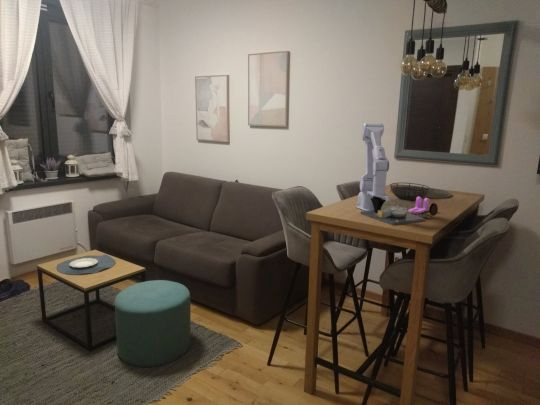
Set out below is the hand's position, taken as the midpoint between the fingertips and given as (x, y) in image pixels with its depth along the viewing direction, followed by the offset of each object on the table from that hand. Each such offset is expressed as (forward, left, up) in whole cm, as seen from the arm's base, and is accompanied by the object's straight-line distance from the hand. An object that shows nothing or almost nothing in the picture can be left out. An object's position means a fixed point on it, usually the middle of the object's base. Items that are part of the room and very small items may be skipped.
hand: (377, 212), depth 197 cm
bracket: (-1, +28, -3) cm, 28 cm away
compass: (+10, +23, -3) cm, 25 cm away
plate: (+3, +7, -2) cm, 8 cm away
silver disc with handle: (+5, +5, -1) cm, 7 cm away
